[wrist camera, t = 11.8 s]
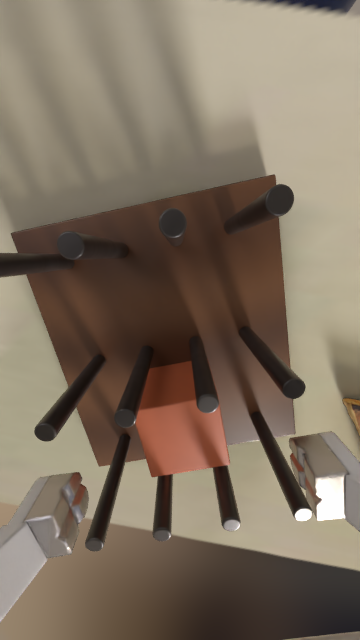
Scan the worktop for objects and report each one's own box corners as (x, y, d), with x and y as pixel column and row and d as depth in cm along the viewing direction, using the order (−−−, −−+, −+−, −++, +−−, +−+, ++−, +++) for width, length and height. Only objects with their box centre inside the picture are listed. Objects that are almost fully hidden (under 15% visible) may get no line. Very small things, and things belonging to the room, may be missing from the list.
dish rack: (22, 234, 13) (-146, 212, 6) (268, 180, 12) (376, 88, 6) (103, 455, 17) (54, 583, 11) (289, 424, 17) (364, 539, 10)
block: (143, 369, 14) (130, 411, 10) (207, 357, 14) (218, 395, 10) (158, 422, 15) (151, 478, 11) (217, 411, 15) (230, 465, 11)
